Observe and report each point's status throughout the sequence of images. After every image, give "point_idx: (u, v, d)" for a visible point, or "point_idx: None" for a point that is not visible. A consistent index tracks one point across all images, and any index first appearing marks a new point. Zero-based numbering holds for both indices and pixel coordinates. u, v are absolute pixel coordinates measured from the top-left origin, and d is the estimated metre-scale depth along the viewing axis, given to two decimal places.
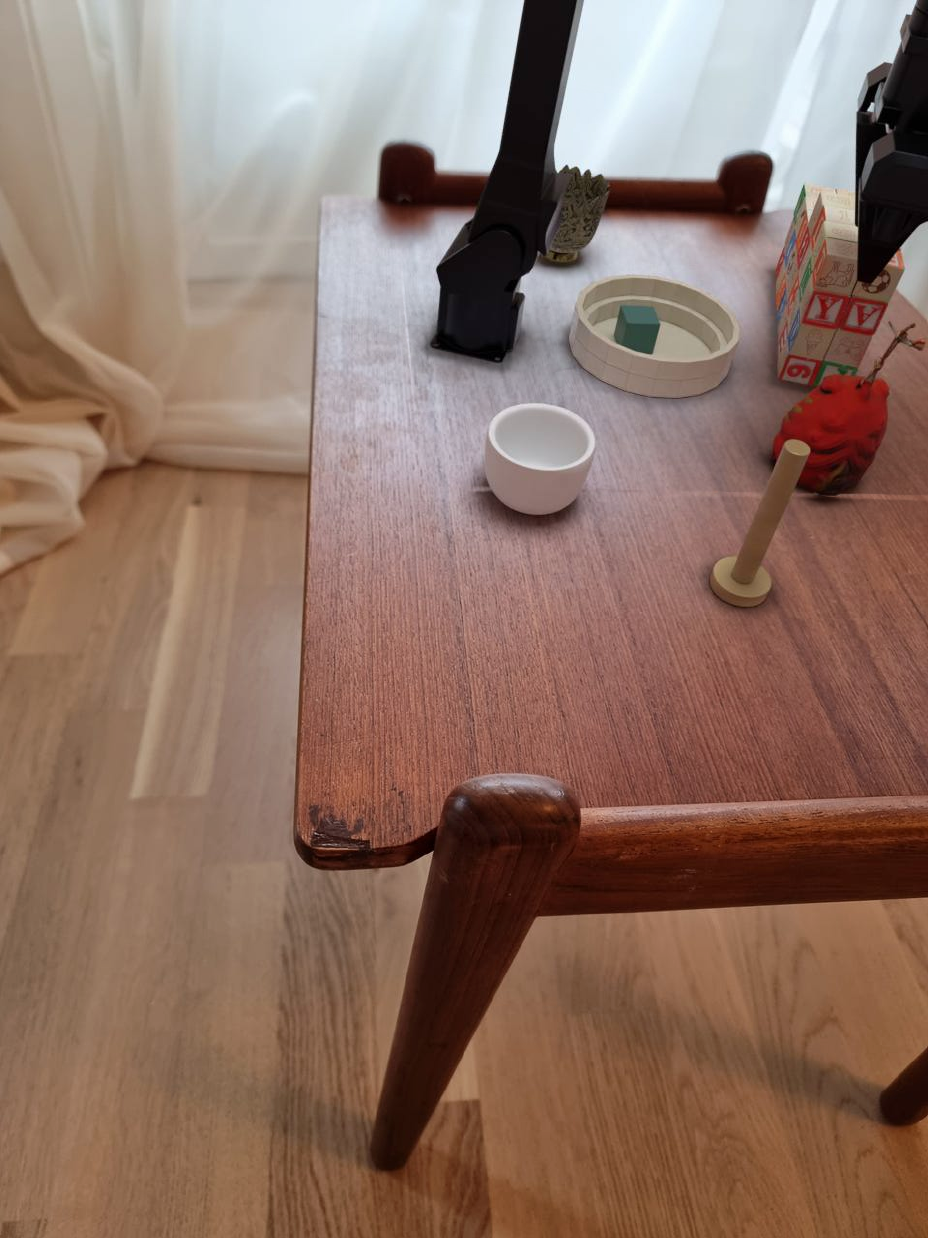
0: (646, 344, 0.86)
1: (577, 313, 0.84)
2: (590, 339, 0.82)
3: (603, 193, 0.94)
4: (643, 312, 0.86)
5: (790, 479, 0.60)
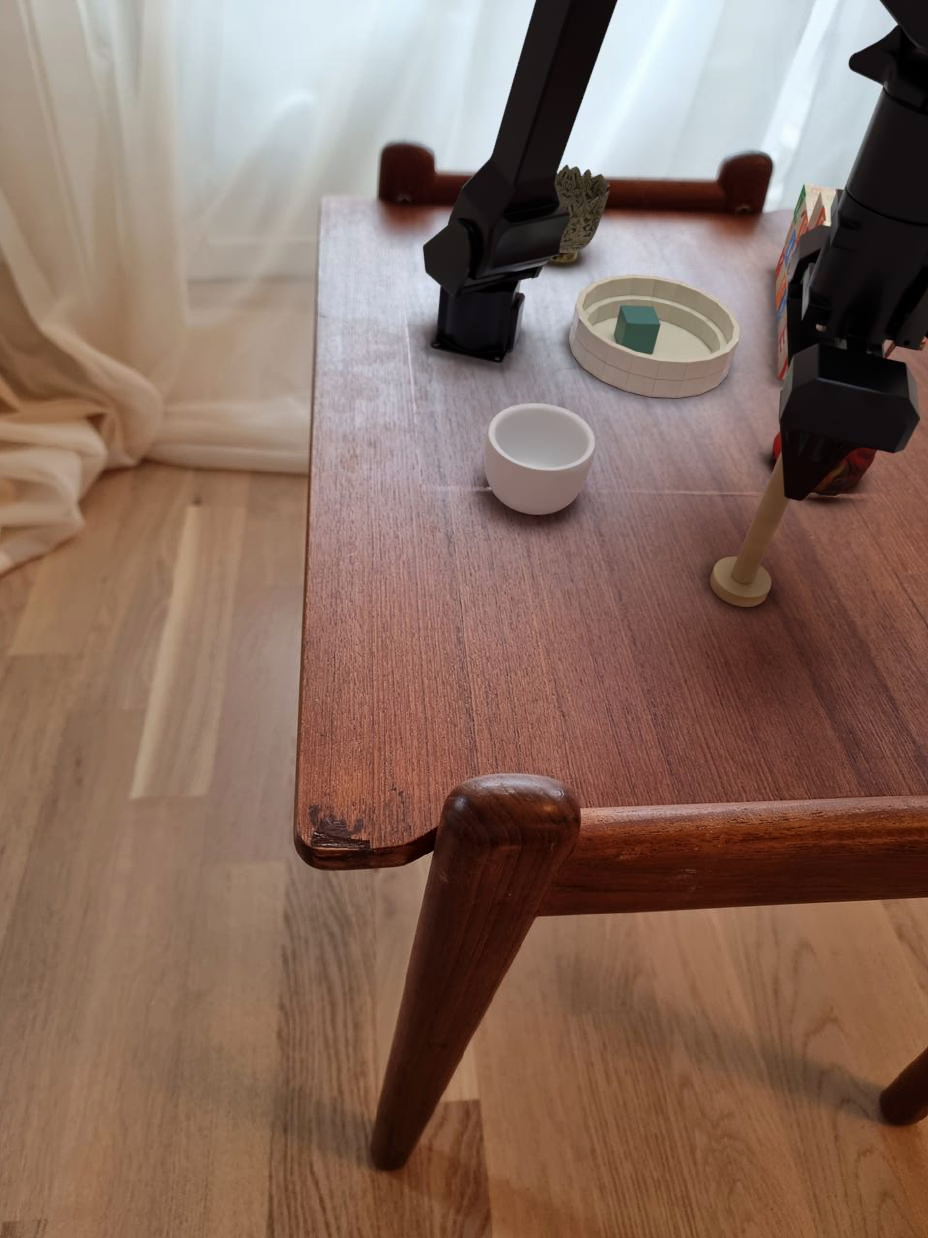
0: (646, 344, 0.86)
1: (577, 313, 0.84)
2: (590, 339, 0.82)
3: (603, 193, 0.94)
4: (643, 312, 0.86)
5: None
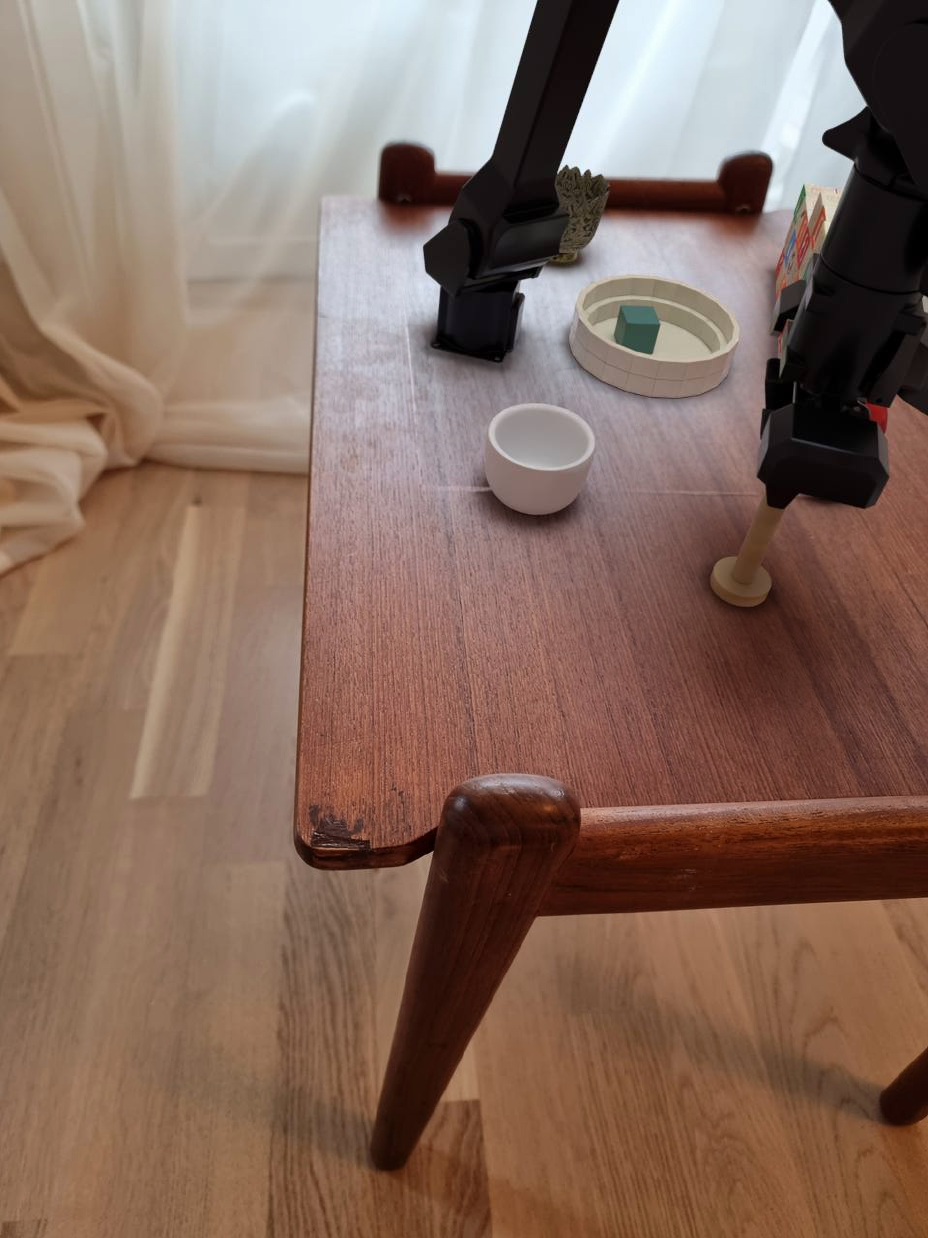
0: (646, 344, 0.86)
1: (577, 313, 0.84)
2: (590, 339, 0.82)
3: (603, 193, 0.94)
4: (643, 312, 0.86)
5: None
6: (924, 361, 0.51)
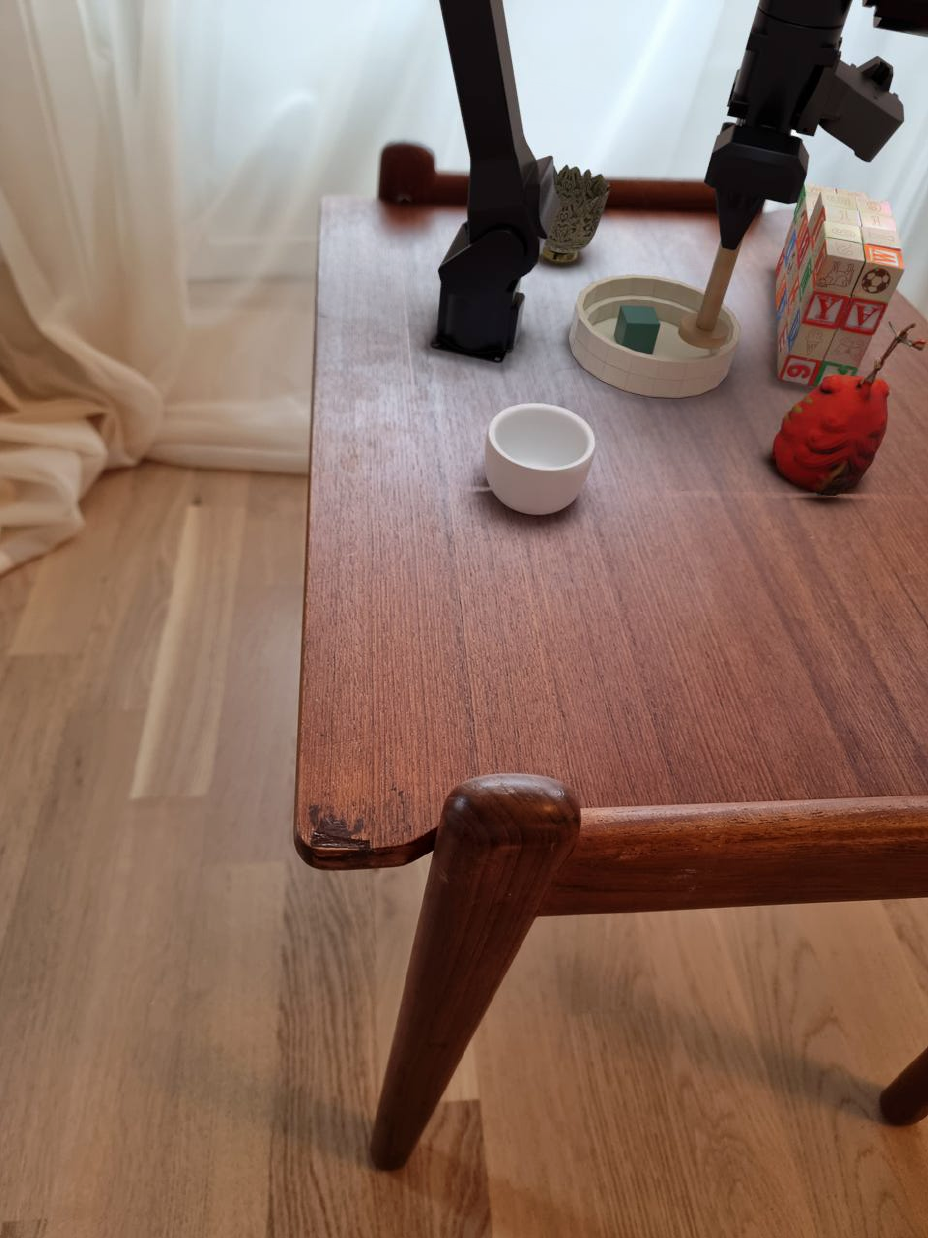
0: (646, 344, 0.86)
1: (577, 313, 0.84)
2: (590, 339, 0.82)
3: (603, 193, 0.94)
4: (643, 312, 0.86)
5: None
6: (840, 92, 0.64)
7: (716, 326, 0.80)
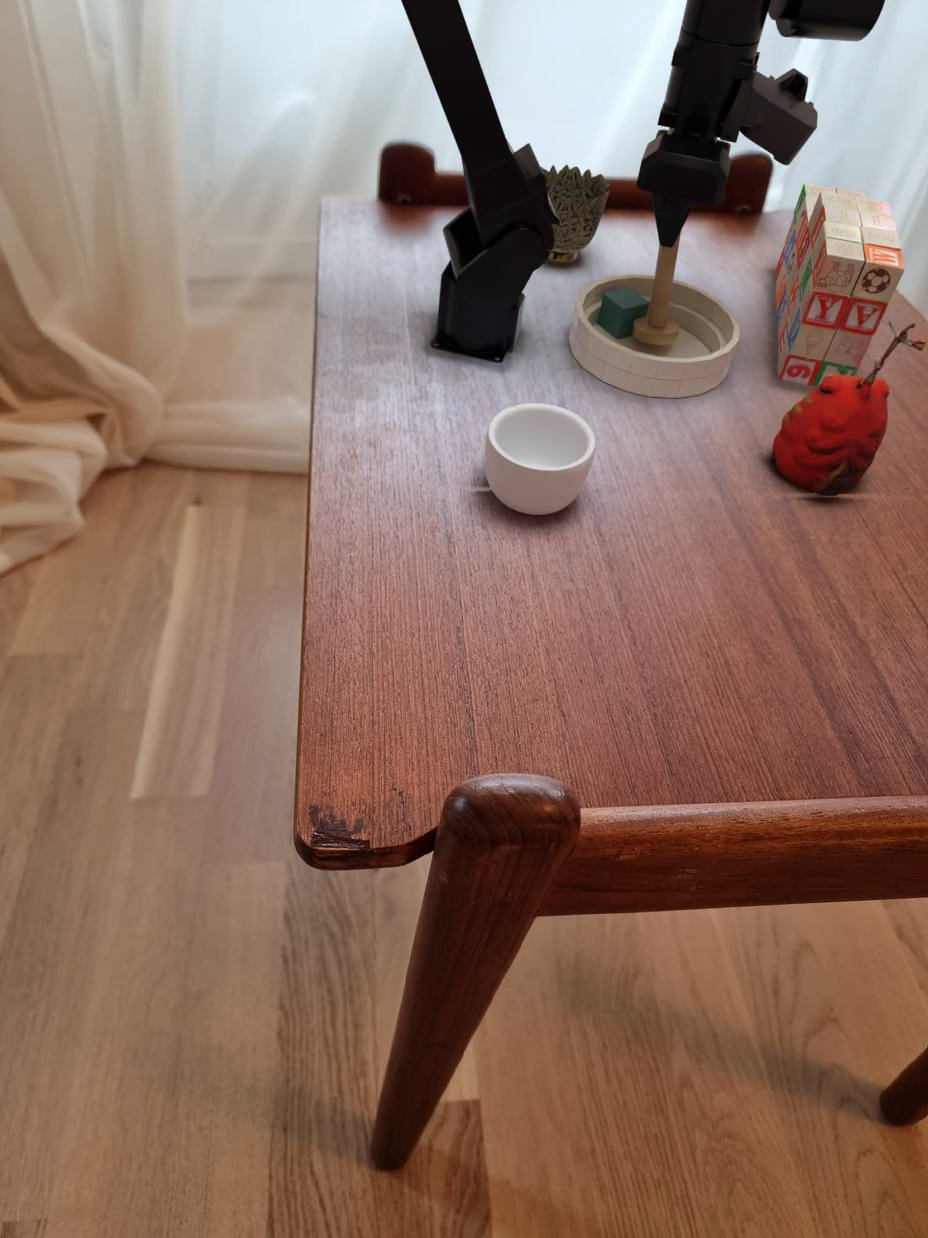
0: None
1: (577, 313, 0.84)
2: (590, 339, 0.82)
3: (603, 193, 0.94)
4: (627, 295, 0.87)
5: None
6: (757, 103, 0.71)
7: (667, 325, 0.86)
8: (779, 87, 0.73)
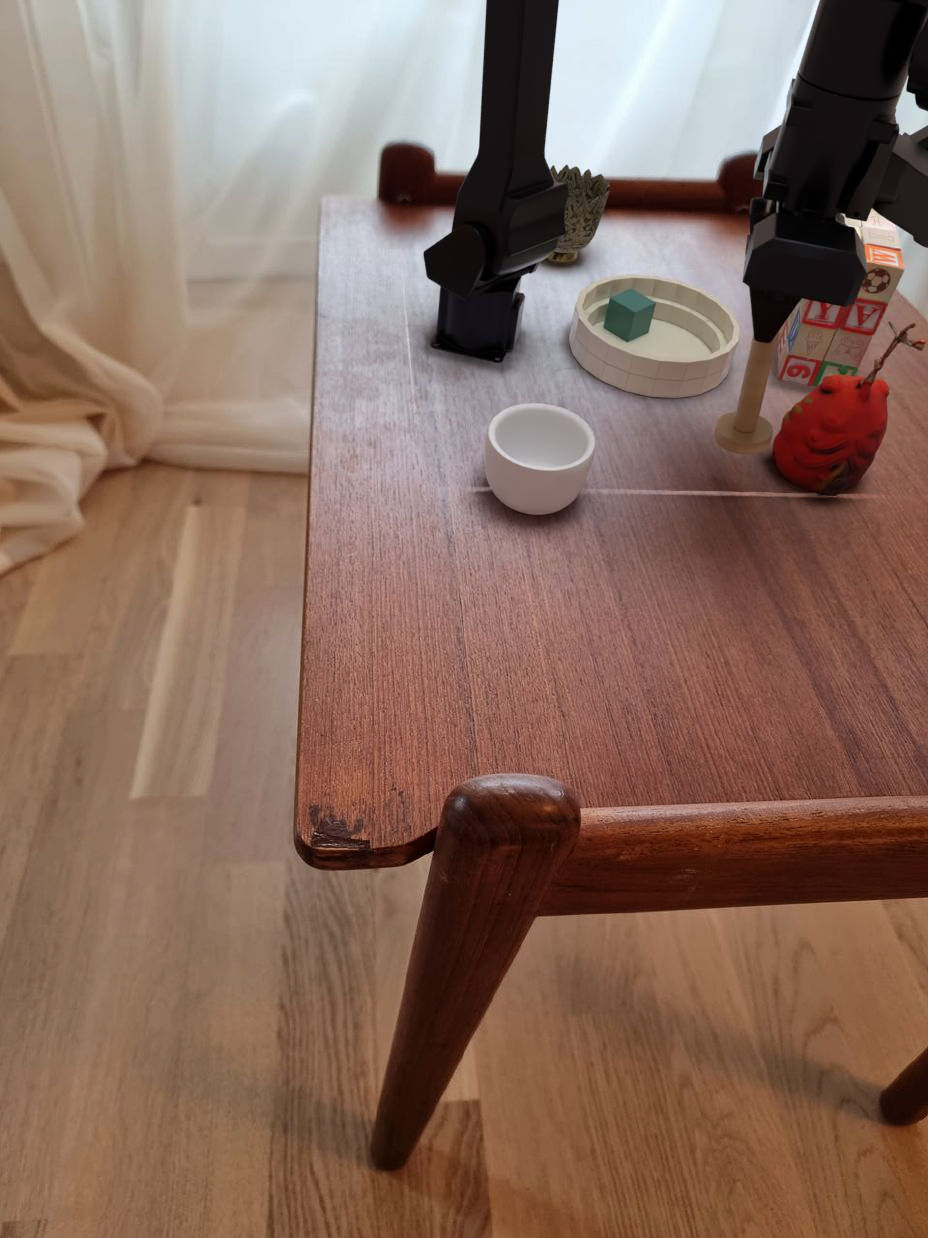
0: (645, 325, 0.88)
1: (577, 313, 0.84)
2: (590, 339, 0.82)
3: (603, 193, 0.94)
4: (632, 297, 0.87)
5: None
6: (898, 171, 0.55)
7: (758, 427, 0.71)
8: (918, 148, 0.57)
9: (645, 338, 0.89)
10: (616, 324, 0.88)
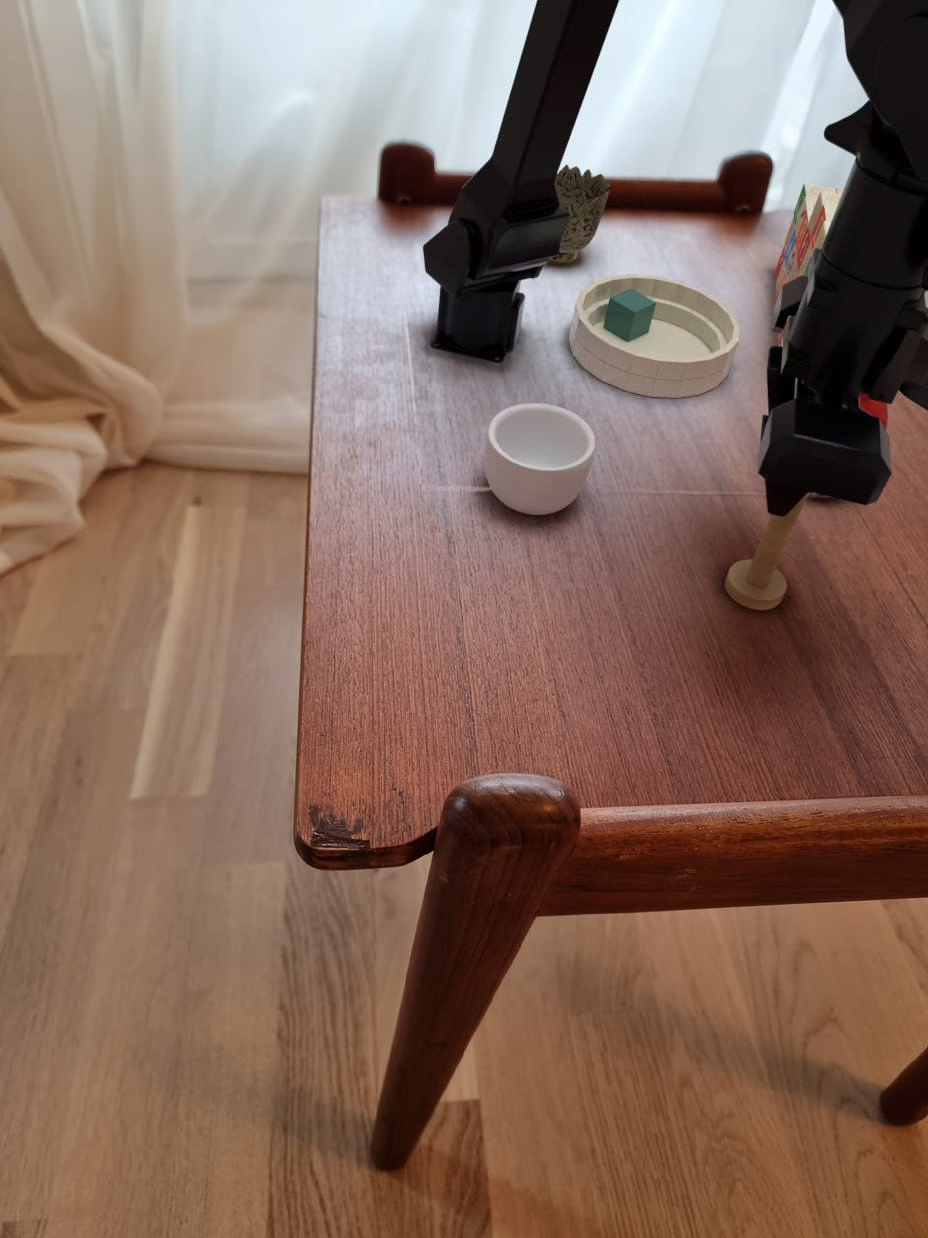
0: (645, 325, 0.88)
1: (577, 313, 0.84)
2: (590, 339, 0.82)
3: (603, 193, 0.94)
4: (632, 297, 0.87)
5: None
6: (926, 357, 0.51)
7: (771, 581, 0.67)
8: None
9: (645, 338, 0.89)
10: (616, 324, 0.88)
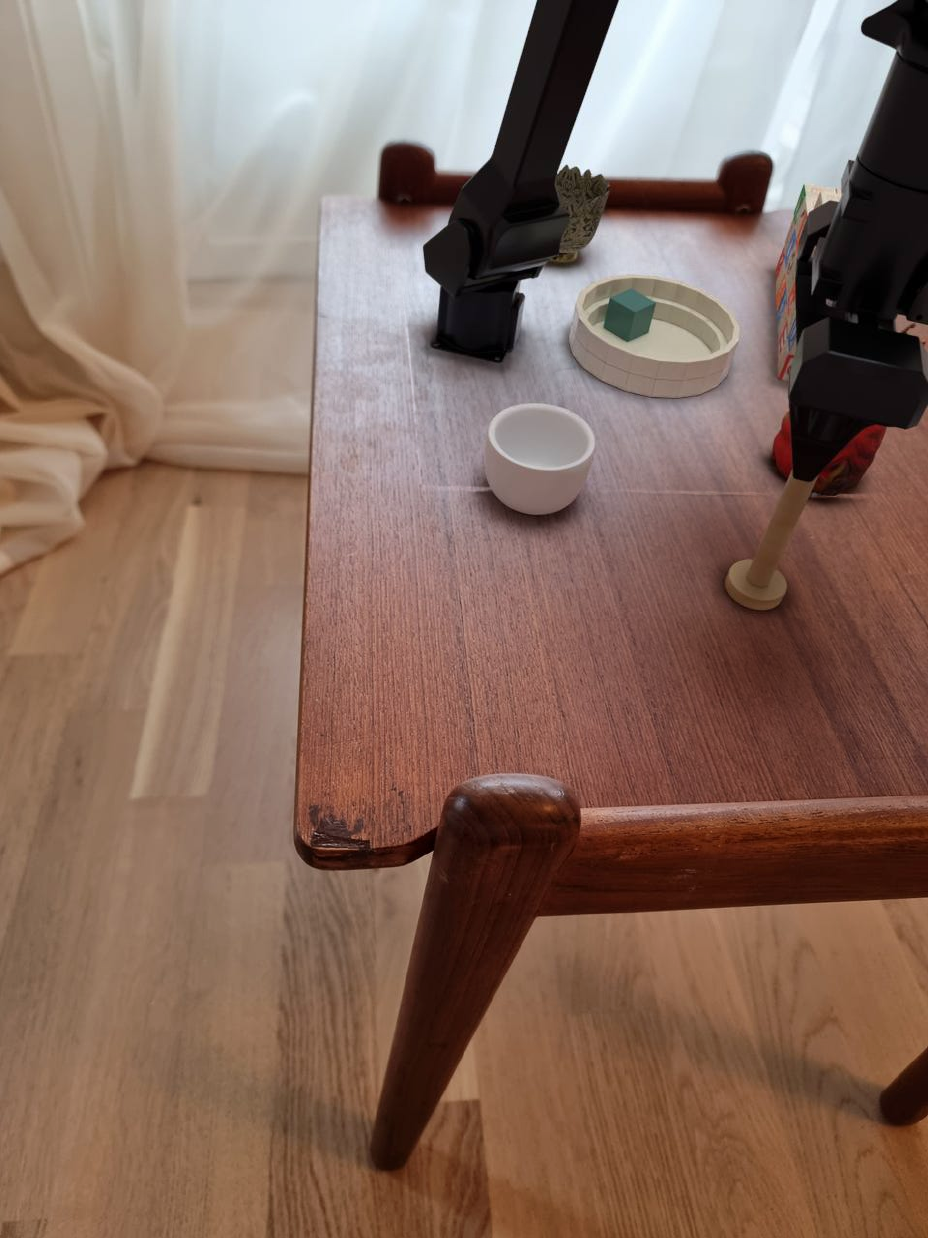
0: (645, 325, 0.88)
1: (577, 313, 0.84)
2: (590, 339, 0.82)
3: (603, 193, 0.94)
4: (632, 297, 0.87)
5: (806, 482, 0.60)
6: None
7: (771, 581, 0.67)
8: None
9: (645, 338, 0.89)
10: (616, 324, 0.88)
